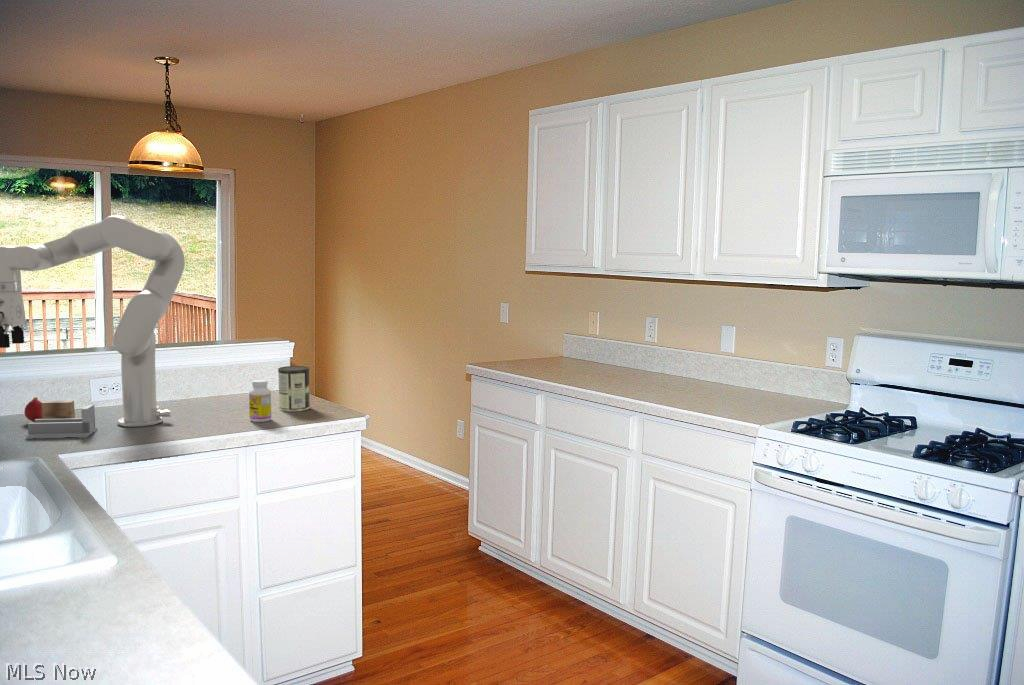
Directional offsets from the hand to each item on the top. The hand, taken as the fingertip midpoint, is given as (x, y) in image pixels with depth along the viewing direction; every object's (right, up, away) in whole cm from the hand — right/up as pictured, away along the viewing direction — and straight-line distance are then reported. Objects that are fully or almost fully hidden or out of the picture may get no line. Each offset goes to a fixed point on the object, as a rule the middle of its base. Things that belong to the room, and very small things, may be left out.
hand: (11, 345), depth 238 cm
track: (+18, -26, -5) cm, 32 cm away
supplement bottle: (+69, -24, +18) cm, 75 cm away
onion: (+2, -24, +8) cm, 26 cm away
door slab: (+13, -25, +3) cm, 28 cm away
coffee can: (+75, -22, +36) cm, 86 cm away
